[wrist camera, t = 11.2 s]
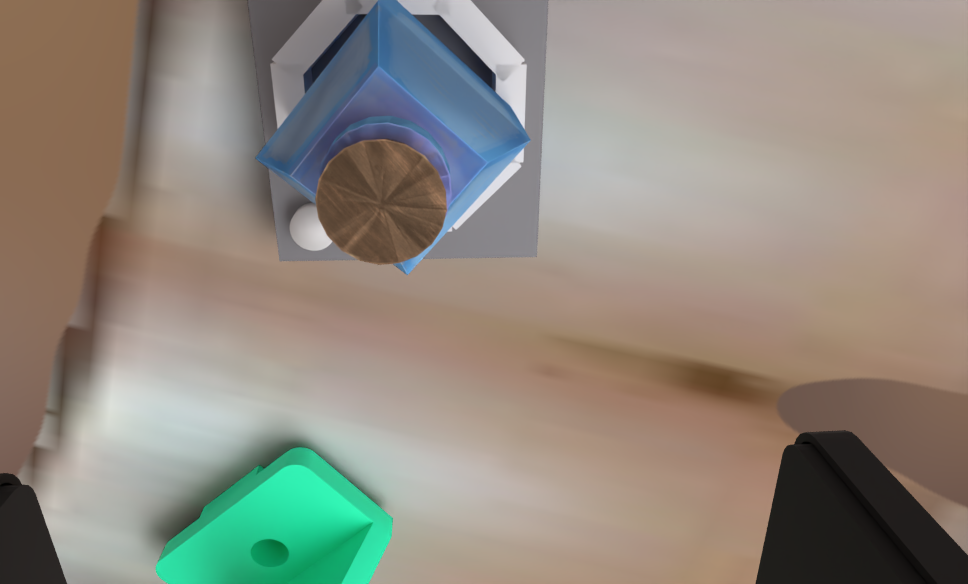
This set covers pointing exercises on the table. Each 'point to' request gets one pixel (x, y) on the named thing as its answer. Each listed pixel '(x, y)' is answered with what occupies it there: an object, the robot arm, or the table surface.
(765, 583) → the robot arm
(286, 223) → the camera body block
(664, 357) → the table surface
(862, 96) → the table surface
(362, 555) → the camera mount
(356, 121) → the perfume bottle
